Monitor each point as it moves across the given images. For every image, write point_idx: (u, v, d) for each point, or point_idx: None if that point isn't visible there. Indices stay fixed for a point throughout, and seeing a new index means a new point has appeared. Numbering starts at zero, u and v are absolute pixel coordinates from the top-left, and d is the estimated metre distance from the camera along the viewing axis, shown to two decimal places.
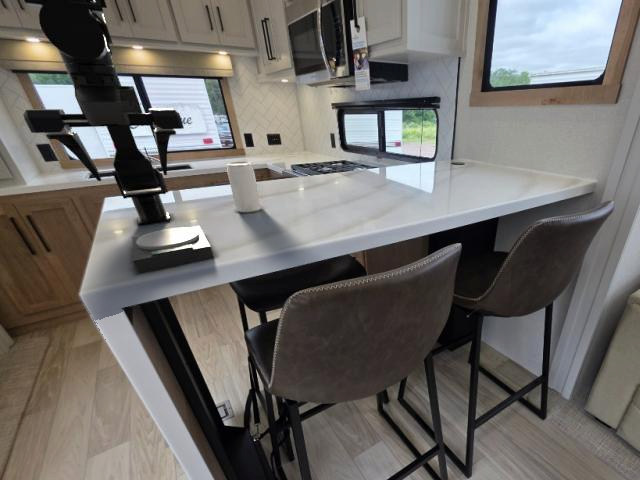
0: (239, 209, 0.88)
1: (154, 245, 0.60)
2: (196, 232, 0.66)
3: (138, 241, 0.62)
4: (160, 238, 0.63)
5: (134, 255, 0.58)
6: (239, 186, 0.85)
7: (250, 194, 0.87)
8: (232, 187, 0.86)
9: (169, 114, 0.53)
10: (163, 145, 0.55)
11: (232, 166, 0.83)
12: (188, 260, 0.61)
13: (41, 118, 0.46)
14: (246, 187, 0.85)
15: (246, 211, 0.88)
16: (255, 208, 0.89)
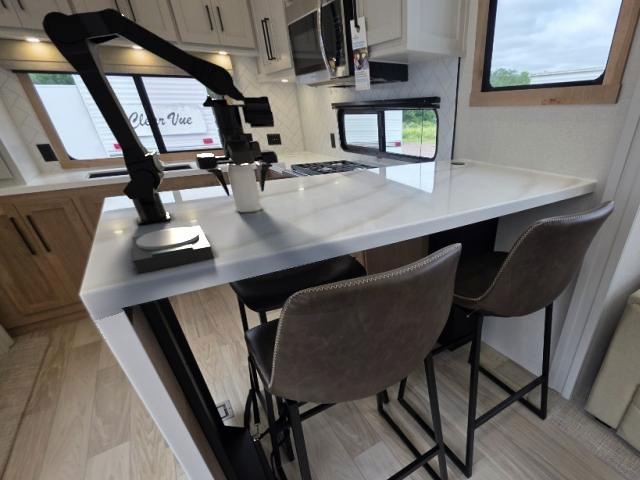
0: (239, 209, 0.88)
1: (154, 245, 0.60)
2: (196, 232, 0.66)
3: (138, 241, 0.62)
4: (160, 238, 0.63)
5: (134, 255, 0.58)
6: (239, 186, 0.85)
7: (250, 194, 0.87)
8: (232, 187, 0.86)
9: (271, 154, 0.86)
10: (264, 173, 0.88)
11: (232, 166, 0.83)
12: (188, 260, 0.61)
13: (206, 161, 0.78)
14: (246, 187, 0.85)
15: (246, 211, 0.88)
16: (255, 208, 0.89)
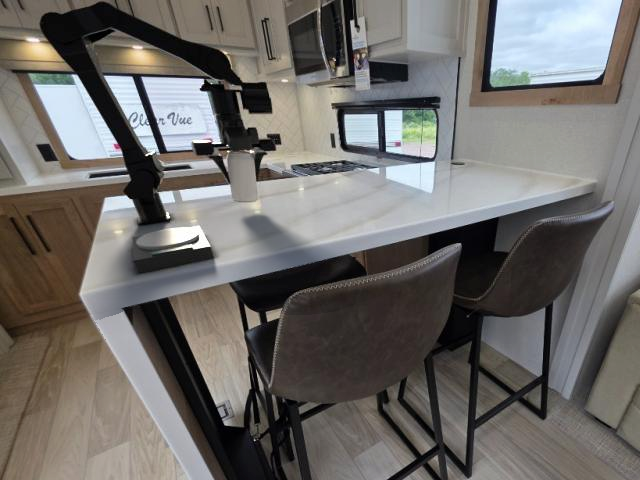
0: (235, 198, 0.86)
1: (154, 245, 0.60)
2: (196, 232, 0.66)
3: (138, 241, 0.62)
4: (160, 238, 0.63)
5: (134, 255, 0.58)
6: (237, 174, 0.83)
7: (248, 184, 0.85)
8: (230, 175, 0.84)
9: (269, 142, 0.84)
10: (258, 161, 0.86)
11: (233, 153, 0.82)
12: (188, 260, 0.61)
13: (203, 147, 0.77)
14: (244, 176, 0.84)
15: (242, 200, 0.87)
16: (251, 198, 0.87)
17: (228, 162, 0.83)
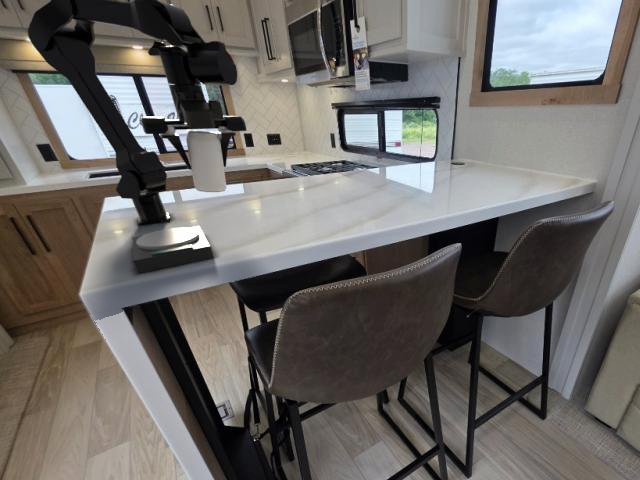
0: (197, 187, 0.73)
1: (154, 245, 0.60)
2: (196, 232, 0.66)
3: (138, 241, 0.62)
4: (160, 238, 0.63)
5: (134, 255, 0.58)
6: (199, 158, 0.70)
7: (213, 170, 0.72)
8: (191, 159, 0.70)
9: (237, 120, 0.71)
10: (225, 143, 0.73)
11: (193, 133, 0.68)
12: (188, 260, 0.61)
13: (154, 123, 0.63)
14: (208, 161, 0.71)
15: (206, 190, 0.73)
16: (218, 188, 0.74)
17: (188, 143, 0.69)
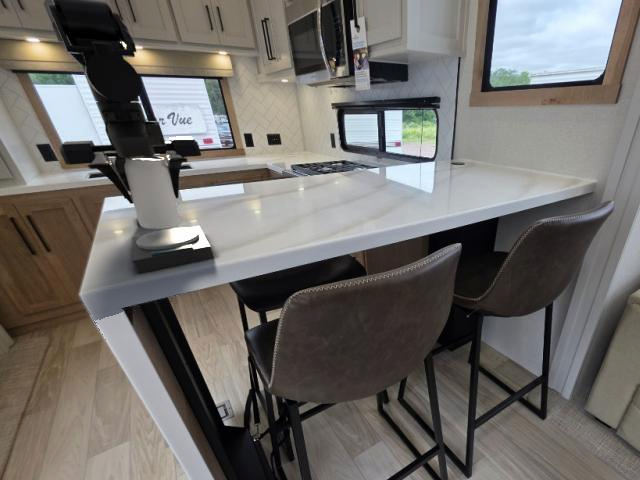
0: (142, 224, 0.60)
1: (154, 245, 0.60)
2: (196, 232, 0.66)
3: (138, 241, 0.62)
4: (160, 238, 0.63)
5: (134, 255, 0.58)
6: (140, 190, 0.57)
7: (159, 204, 0.59)
8: (131, 191, 0.58)
9: (188, 143, 0.58)
10: (175, 171, 0.60)
11: (131, 160, 0.55)
12: (188, 260, 0.61)
13: (75, 151, 0.50)
14: (152, 194, 0.57)
15: (152, 227, 0.60)
16: (167, 224, 0.61)
17: (126, 173, 0.56)
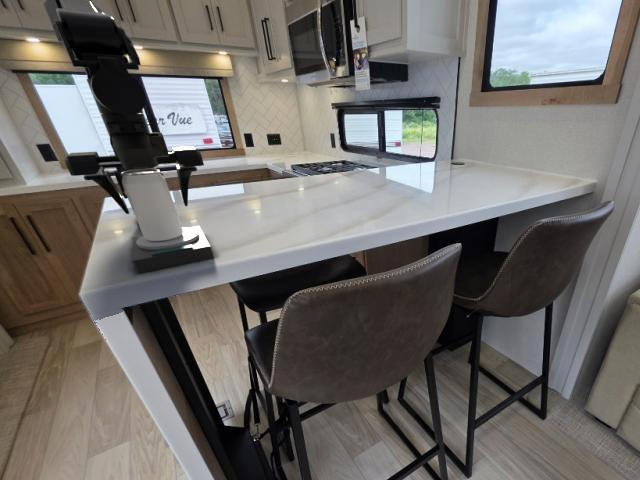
0: (146, 237, 0.61)
1: (154, 245, 0.60)
2: (196, 232, 0.66)
3: (138, 241, 0.62)
4: None
5: (134, 255, 0.58)
6: (140, 204, 0.58)
7: (160, 216, 0.60)
8: (132, 206, 0.58)
9: (191, 153, 0.59)
10: (185, 180, 0.61)
11: (127, 176, 0.56)
12: (188, 260, 0.61)
13: (80, 163, 0.51)
14: (151, 207, 0.58)
15: (156, 240, 0.61)
16: (170, 235, 0.62)
17: (124, 189, 0.57)
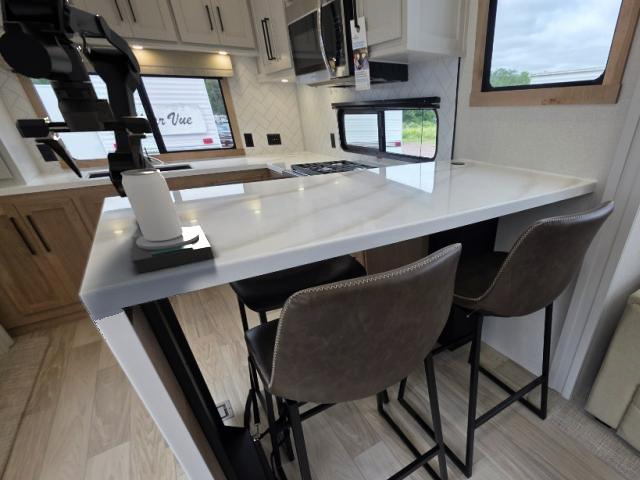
0: (146, 237, 0.61)
1: (154, 245, 0.60)
2: (196, 232, 0.66)
3: (138, 241, 0.62)
4: None
5: (134, 255, 0.58)
6: (140, 204, 0.58)
7: (160, 216, 0.60)
8: (132, 206, 0.58)
9: (139, 121, 0.63)
10: (135, 147, 0.65)
11: (127, 176, 0.56)
12: (188, 260, 0.61)
13: (30, 126, 0.55)
14: (151, 207, 0.58)
15: (156, 240, 0.61)
16: (170, 235, 0.62)
17: (124, 189, 0.57)
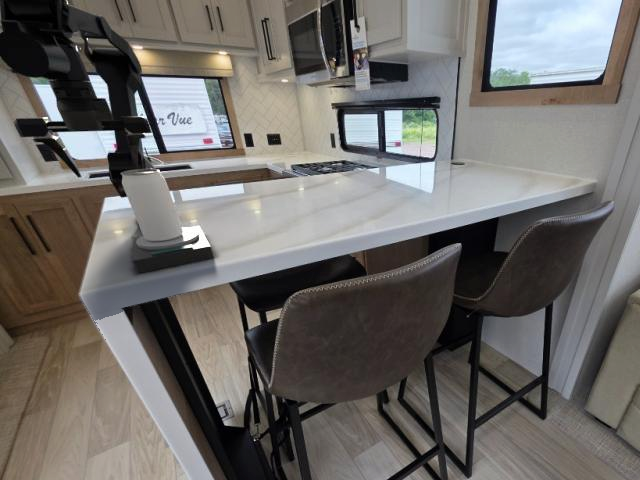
0: (146, 237, 0.61)
1: (154, 245, 0.60)
2: (196, 232, 0.66)
3: (138, 241, 0.62)
4: None
5: (134, 255, 0.58)
6: (140, 204, 0.58)
7: (160, 216, 0.60)
8: (132, 206, 0.58)
9: (138, 121, 0.63)
10: (134, 147, 0.65)
11: (127, 176, 0.56)
12: (188, 260, 0.61)
13: (28, 125, 0.55)
14: (151, 207, 0.58)
15: (156, 240, 0.61)
16: (170, 235, 0.62)
17: (124, 189, 0.57)
